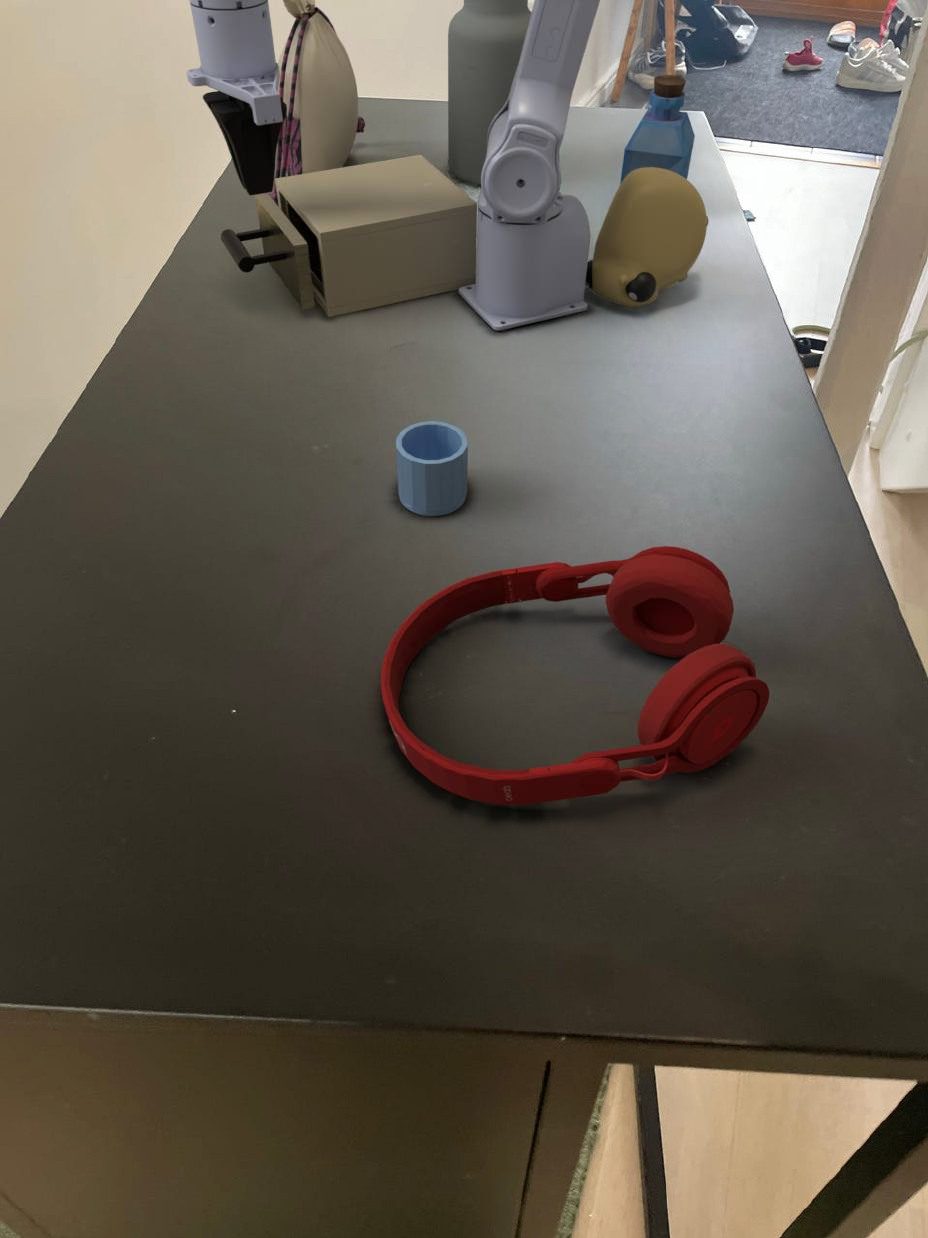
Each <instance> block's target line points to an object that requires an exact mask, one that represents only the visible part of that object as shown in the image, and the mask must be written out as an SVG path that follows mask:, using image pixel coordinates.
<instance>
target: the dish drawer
mask: <svg viewBox="0 0 928 1238" xmlns="http://www.w3.org/2000/svg"><path fill="white" fill-rule="evenodd" d="M269 194H270V193H263V194H257V195H254V197H255V203H256V210H257V216H258V223H259V228H258V229H253V230H247V231H242V232H237V233H236V232H235V231H234V230H233V229H231V228H227V229H224V230H223V231H222V232H221V234H220V240H221V242H222V244H223V246H224V247H225V248H226V250H227V252H228V254H229V255H230V256H231V257H232V259H233V260H234V262H235V264H236V265H237V267H238V268H239V270H240V271H242V273H251V272H252V271H253V270H254V269H255V266H258V265H263V264H269V265H270V267H271V268H272V269H273V271H274V272H275V274H276V275H277V276H278V278H279V279H280V281H281V282H282V283H283V285H284V286H285V288H286V290H288V293H290V295H291V296H292V298H293V299H294V301H295V302H296V304H297V305H298V306H299V308H300V309H301V310H302V311H304V310H308V309H312V308H313V309H314V308H315V307H316V305H315V298H314V296H313V288H312V279H313V281H314V282H315V283H316V285H317V286H318V287H319V289H320V290H321V291H322V293H323V294H324V289H323V279H322V270H321V261H320V251H319V242H318V238H317V236H316V235H315V234H314V233H313V232H312V230H311V229H310V228H309V227H308V225H307V224H306V223H305V222H304V221H303V219H302V218H301V217H300V216H299V214H298V213H297V212H296V211H295V210H294V208H293V207H292V206H291V205H290V203H289V202H288V201H287V200H286V199H285V206H286V214H287V217H286V216H285V214H284V213H283V212H282V211H281V209H280V208H279V207H278V206H277V204H276V203H275V202H274V200H273V199H272V198H271V197H270V195H269ZM284 198H285V197H284ZM257 239H261V242H262V243H261V244H262V249H263V253H262V254H257V255H253V256H252V255H251V254H250V253H249V251H248V250H247V248H246V246H245V245H244V244H243V243H242V242H247V241H252V240H257ZM311 278H312V279H311Z"/></svg>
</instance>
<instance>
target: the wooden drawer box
mask: <svg viewBox="0 0 928 1238" xmlns="http://www.w3.org/2000/svg"><path fill="white" fill-rule="evenodd" d="M275 182H276V189H277V197H278V204H279V208H280V209H281V211H282V212H283V213H284V214H285V216H286V217H287V214H286V206H285V199H286V200H287V201H288V202H289V203H290V205H291V206H292V207H293V208H294V210H295V211H296V212H297V213H298V214H299V216H300V217H301V218H302V219H303V221H304V222H305V223H306V224H307V225H308V227H309V228H310V229H311V230H312V232H313V233H314V234H315V235H316V236H317V238H318V242H319V251H320V261H321V270H322V279H323V289H324V294H323V293H322V291H321V290H320V289H319V287H318V286H317V285H316V283H315V282H314V281H313V279H312V278H311V279H312V288H313V296H314V300H316V302H317V303H318V304H319V306H320V307H321V308H322V310H323V311H324V313H325V314H326V315H327V317H328V318H332V317H336V316H342V315H345V314H351V313H356V312H359V311H364V310H368V309H369V310H370V309H374V308H379V307H383V306H386V305H392V304H393V305H394V304H397V303H402V302H406V301H411V300H415V299H420V298H425V297H429V296H434V295H438V294H442V293H447V292H452V291H457V290H459V288H460V287H464V286H469V285H473V284H476V264H477V216H478V202H476V201H475V200H474V199H472V197H470V196H469V195H468V194H466V192H464V191H463V190H462V189H461V188H460V187H458V185H456V184H455V183H454V182H453V181H452V180H451V179H449V178H448V177H447V176H446V175H445V174H444V173H442V172H441V171H440V170H439V169H438V168H437V167H435V166H434V165H433V164H432V163H431V162H429V160H428V159H426V158H425V156H423V155H422V154H416V155H411V156H404V157H398V158H393V159H386V160H380V161H373V162H368V163H362V164H356V165H349V166H343V167H342V168H337V169H331V170H325V171H318V172H312V173H306V174H300V175H294V176H288V175H287V176H285V177H282V178H281V177H280V178H276V179H275V178H274V183H275ZM284 197H285V198H284Z"/></svg>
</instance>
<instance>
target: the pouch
mask: <svg viewBox="0 0 928 1238" xmlns="http://www.w3.org/2000/svg"><path fill="white" fill-rule="evenodd" d="M282 2H283V5H284V7H285V9H286V11H287V12H288V13H289V14H290V15H291V16H292V17H293V18H295V20H294V22H293V24H292V27H291V29H290V32H289V35H288V37H287V40H286V41H285V43H284V46H283V48H282V51H281V53H280V55H279V58H278V61H277V64H278V65H279V71H280V80H279V86H278V93H279V94H280V99H281V100H282V101H283V102H284V103H285V104H286V105H287V115H286V118H285V120H284V122H283V125H282V128H281V131H280V134H279V138H278V143H277V151H276V165H275V175H274V180H275V179H276V178H282V177H286V174H287V177H288V176H294V175H300V174H306V173H312V172H318V171H325V170H331V169H337V168H343V167H344V165H345V164H346V162H347V160H348V158H349V157H350V154H351V152H352V150H353V148H354V144H355V142H356V141H355V140H356V136H357V134H359V133H361V134H362V133H364V132H365V127H366V122H365V119H364V118H363V117H362V116H360V115H359V93H358V86H357V85H358V84H357V80H356V75H355V72H354V69H353V66H352V62H351V60H350V56H349V54H348V51H347V50H346V48H345V46H344V44H343V42H342V41H341V40H340V38H339V36H338V33H337V31H336V29H335V27H334V25H333V24H332V22H331V20H330V18H329V17H328V16H327V14H325V13H324V12H323V10H321V9H320V8H319V7H317V6H316V0H282ZM268 194H269V195H270V197H271V198H272V199H273V200H274V202H275V203H276V204H277V206H278V207H279V204H278V197H277V189H276V182H275V181H274V184H273V191H272V192H270V193H268Z"/></svg>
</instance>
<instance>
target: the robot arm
mask: <svg viewBox="0 0 928 1238" xmlns="http://www.w3.org/2000/svg"><path fill="white" fill-rule="evenodd" d="M600 2H601V0H534V1H533V5H532V9H531V12H532V13H531V17H530V21H529V25H528V28H527V32H526V36H525V40H524V44H523V48H522V52H521V56H520V60H519V64H518V67H517V70H516V73H515V76H514V79H513V82H512V86H511V90H510V93H509V96H508V99H507V101H506V103H505V105H504V106H503V108H502V109H501V110H500V111H499V112H498V113H497V115H496V116H495V117H494V119H493V120H492V122H491V124H490V127H489V130H488V134H487V154H486V160H485V163H484V166H483V169H482V173H481V192H480V193H479V194H478V196H477V236H476V277H475V278H476V284H473V285H469V286H464V287H460V288H459V289H458V295H460V296H461V297H462V299H464V300H465V302H467V303H468V304H469V306H470V307H471V308H472V309H473V310H474V311H475V312H476V313H477V314H478V315H479V316H480V317H481V318H482V319H483V320H484V321H485V322H486V323H487V325H488V326H490V327H491V328H492V329H493V330H494V331H498V332H499V331H500V332H501V331H504V330H508V329H512V328H516V327H520V326H526V325H530V324H533V323H538V322H542V321H547V320H550V319H555V318H558V317H563V316H568V315H573V314H576V313H580V312H584V311H586V310H588V303H587V302H585V300H584V298H585V289H586V286H585V282H586V273H587V264H588V261H589V256H590V255H589V254H590V245H591V230H590V221H589V217H588V214H587V211H586V208H585V207H584V205H583V203H582V202H581V200H580V199H579V198H578V197H576V196H575V195H572V194H562V192H560V191H561V186H562V171H561V163H560V162H561V161H560V160H561V159H560V154H561V153H560V152H561V146H562V143H563V140H564V136H565V132H566V129H567V127H566V126H567V122H568V117H569V112H570V106H571V101H572V97H573V92H574V89H575V85H576V82H577V79H578V76H579V72H580V69H581V66H582V62H583V59H584V56H585V53H586V50H587V45H588V42H589V39H590V35H591V32H592V29H593V26H594V22H595V20H596V16H597V13H598V9H599V6H600ZM189 4H190V9H191V17H192V22H193V27H194V34H195V38H196V44H197V50H198V55H199V61H200V66H199V67H197V68H191V69H187V70H186V77H187V81H188V83H189V84H190V85H191V86H193V87H208V88H210V89H213V90H216V91H210V92H209V91H208V92H206V93H204V94H203V95H202V100H203V101H204V102H205V104H206V105H207V107H208V109H209V110H210V112H211V114H212V115H213V118H214V119H215V121H216V123H217V125H218V127H219V128H220V131H221V133H222V136H223V138H224V141H225V143H226V145H227V148H228V152H229V155H230V158H231V161H232V163H233V166H234V169H235V172H236V174H237V177H238V180H239V182H240V184H241V186H242V187H243V189H244V190H245V191H246V193H247V194H248V196H255V195H258V194H264V193H268V194H270V193H273V190H274V183H275V175H276V160H277V150H278V138H279V134H280V131H281V128H282V125H283V122H284V120H285V118H286V115H287V105H286V104H285V103H284V102H283V101H282V100H281V99H280V94H279V93H278V86H279V80H280V71H279V65H278V62H277V60H276V53H275V44H274V35H273V28H272V20H271V19H272V18H271V13H270V5H269V0H189Z"/></svg>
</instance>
